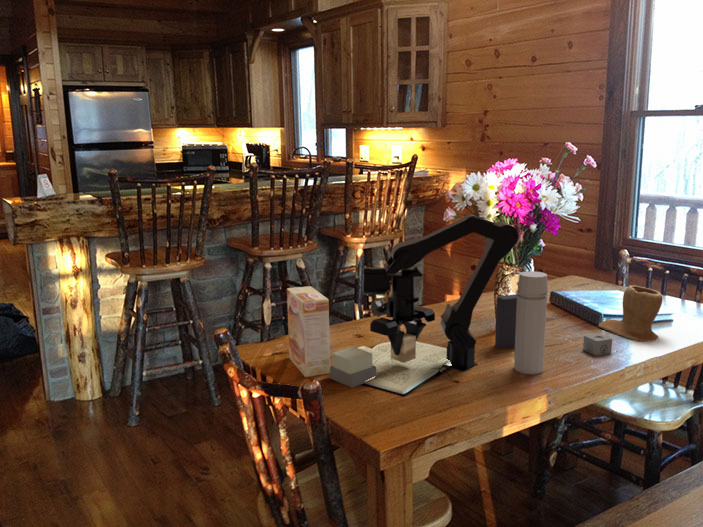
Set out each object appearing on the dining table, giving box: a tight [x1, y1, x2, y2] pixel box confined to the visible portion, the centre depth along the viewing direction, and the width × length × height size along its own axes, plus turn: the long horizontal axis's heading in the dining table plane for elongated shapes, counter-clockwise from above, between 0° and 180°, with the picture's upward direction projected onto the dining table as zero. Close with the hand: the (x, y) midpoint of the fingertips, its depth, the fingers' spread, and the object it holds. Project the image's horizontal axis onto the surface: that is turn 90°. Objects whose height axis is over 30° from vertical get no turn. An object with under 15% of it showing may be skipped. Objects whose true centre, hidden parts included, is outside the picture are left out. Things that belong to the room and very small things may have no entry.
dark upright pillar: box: [494, 293, 518, 350], centre depth 177 cm, size 11×4×15 cm, turn 110°
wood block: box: [390, 332, 417, 363], centre depth 163 cm, size 4×4×6 cm
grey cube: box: [582, 333, 613, 357], centre depth 171 cm, size 5×5×5 cm
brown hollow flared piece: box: [598, 285, 664, 343], centre depth 185 cm, size 15×12×15 cm
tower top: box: [331, 346, 373, 374], centre depth 157 cm, size 7×7×4 cm
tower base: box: [329, 364, 377, 388], centre depth 158 cm, size 8×8×4 cm
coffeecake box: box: [286, 285, 331, 378], centre depth 165 cm, size 15×7×20 cm, turn 21°
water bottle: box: [513, 270, 550, 375], centre depth 159 cm, size 9×8×25 cm
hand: (403, 352), depth 164 cm, fingers closed on wood block, 4 cm apart
